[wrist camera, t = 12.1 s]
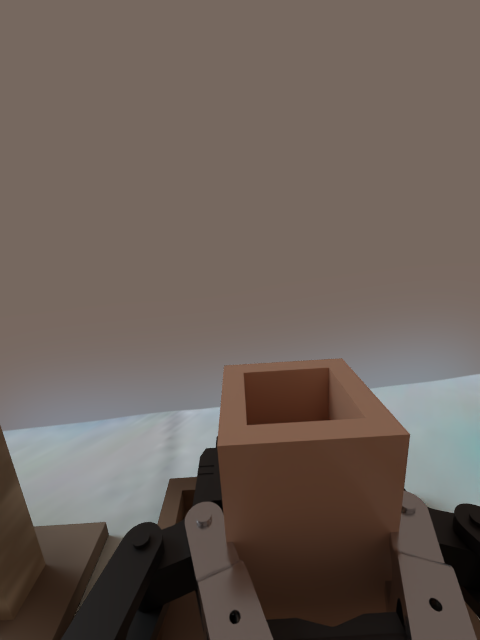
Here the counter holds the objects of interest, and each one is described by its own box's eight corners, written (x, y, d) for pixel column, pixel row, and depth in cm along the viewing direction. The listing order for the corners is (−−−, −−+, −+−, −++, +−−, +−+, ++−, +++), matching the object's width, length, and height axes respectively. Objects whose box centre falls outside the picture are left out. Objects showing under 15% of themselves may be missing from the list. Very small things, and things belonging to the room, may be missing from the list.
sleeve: (382, 679, 10) (410, 434, 8) (239, 687, 10) (217, 446, 8) (335, 538, 15) (341, 358, 12) (238, 544, 15) (224, 365, 12)
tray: (672, 1021, 7) (712, 985, 6) (49, 1060, 7) (21, 1028, 6) (377, 494, 20) (380, 465, 19) (174, 507, 20) (169, 478, 19)
